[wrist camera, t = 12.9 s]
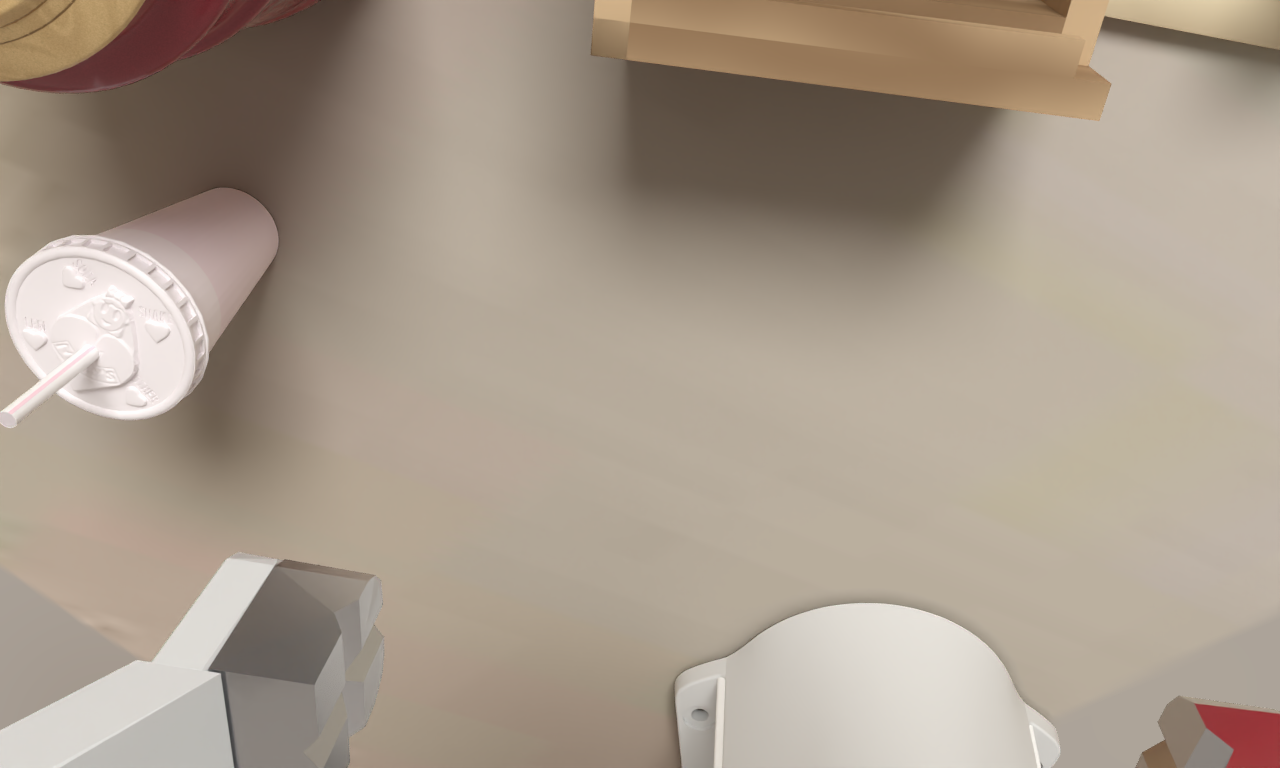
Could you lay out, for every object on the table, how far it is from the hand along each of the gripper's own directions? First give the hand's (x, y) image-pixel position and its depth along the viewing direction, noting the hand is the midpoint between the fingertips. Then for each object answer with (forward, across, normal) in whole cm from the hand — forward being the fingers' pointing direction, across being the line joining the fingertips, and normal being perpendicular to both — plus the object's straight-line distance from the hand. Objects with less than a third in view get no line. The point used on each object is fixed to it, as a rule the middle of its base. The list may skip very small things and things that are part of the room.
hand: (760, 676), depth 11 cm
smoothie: (+29, +20, +9) cm, 37 cm away
